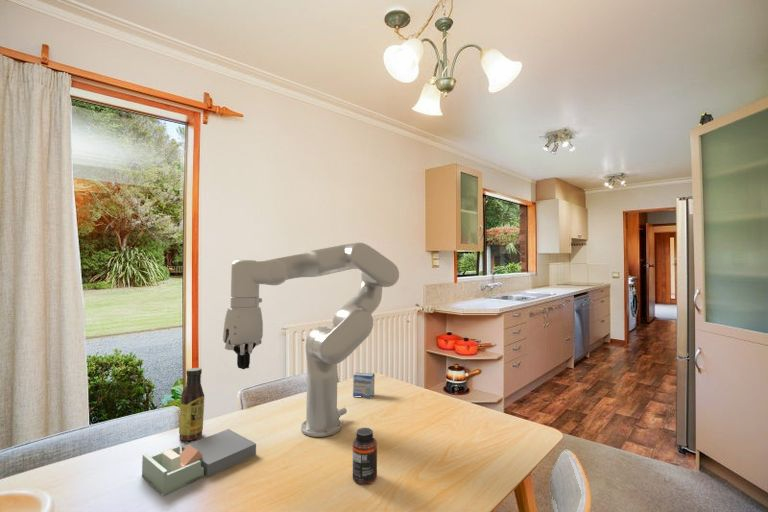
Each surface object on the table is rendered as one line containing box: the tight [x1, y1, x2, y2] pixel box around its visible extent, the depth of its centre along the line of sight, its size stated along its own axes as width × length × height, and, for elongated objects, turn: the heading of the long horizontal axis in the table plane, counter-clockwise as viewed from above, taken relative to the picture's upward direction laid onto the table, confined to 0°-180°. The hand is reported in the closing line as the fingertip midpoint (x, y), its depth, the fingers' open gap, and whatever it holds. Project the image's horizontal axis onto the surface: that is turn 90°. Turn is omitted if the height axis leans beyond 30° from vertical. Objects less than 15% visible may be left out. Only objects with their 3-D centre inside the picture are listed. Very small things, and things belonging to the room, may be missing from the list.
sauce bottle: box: [178, 367, 205, 442], centre depth 106 cm, size 6×6×20 cm
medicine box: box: [352, 371, 376, 398], centre depth 141 cm, size 8×4×9 cm, turn 81°
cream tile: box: [162, 449, 181, 473], centre depth 85 cm, size 5×5×2 cm
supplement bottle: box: [352, 427, 378, 486], centre depth 86 cm, size 6×6×11 cm
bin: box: [141, 445, 205, 496], centre depth 86 cm, size 9×12×5 cm
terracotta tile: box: [180, 445, 203, 468], centre depth 88 cm, size 5×5×2 cm
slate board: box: [181, 428, 257, 478], centre depth 95 cm, size 13×14×3 cm
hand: (243, 367), depth 101 cm, fingers closed
